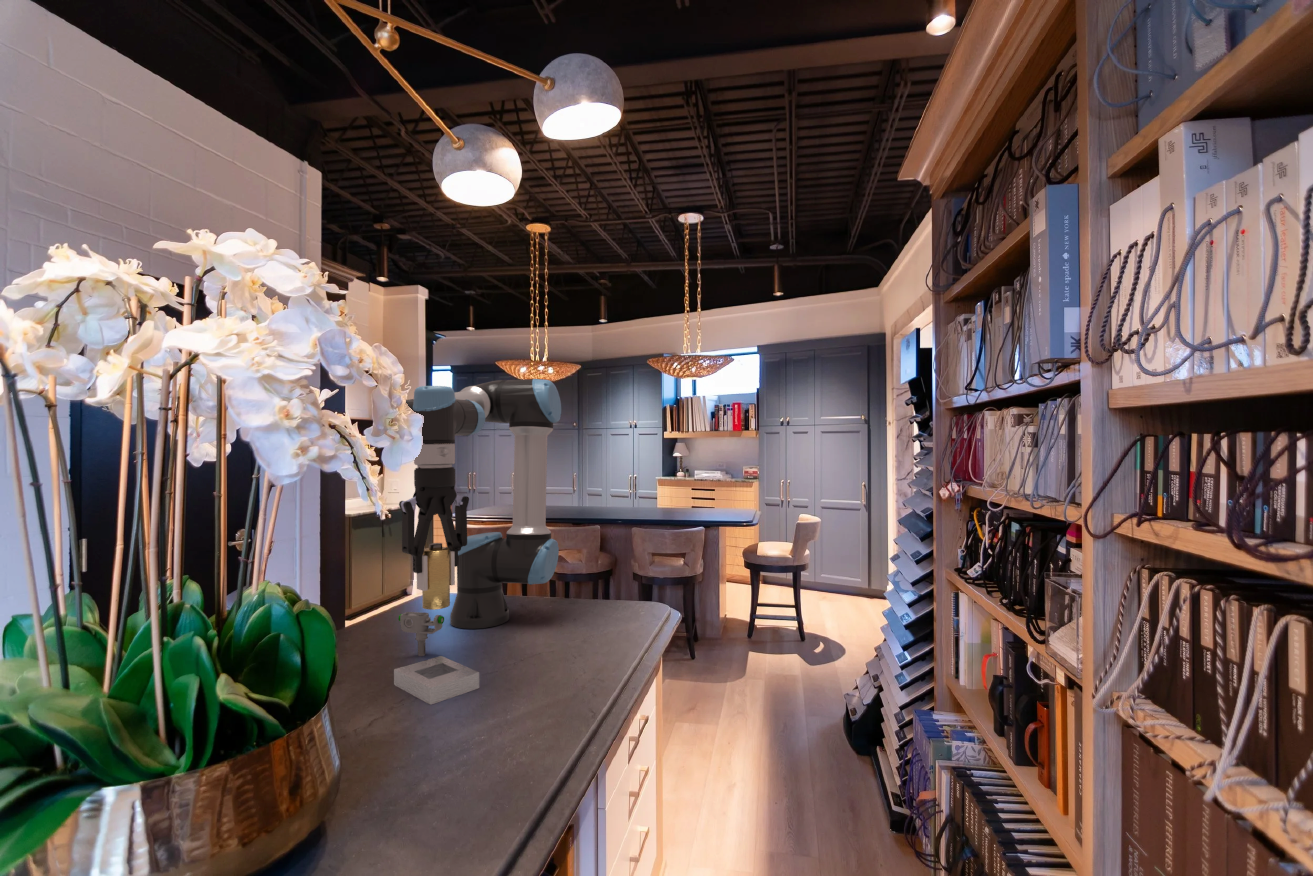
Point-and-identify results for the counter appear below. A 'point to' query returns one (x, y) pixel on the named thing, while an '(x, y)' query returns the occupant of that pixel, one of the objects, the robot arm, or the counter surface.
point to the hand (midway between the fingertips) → (436, 586)
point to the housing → (436, 679)
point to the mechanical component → (420, 627)
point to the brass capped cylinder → (437, 577)
